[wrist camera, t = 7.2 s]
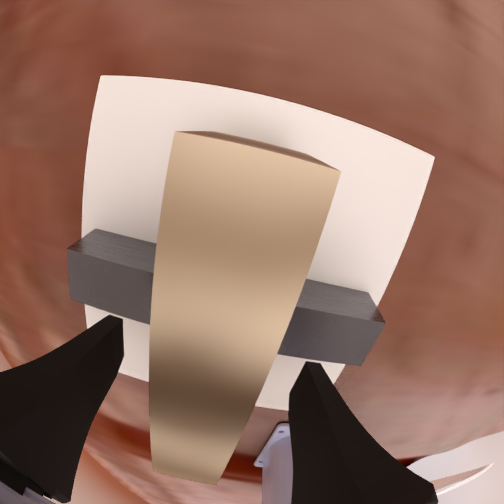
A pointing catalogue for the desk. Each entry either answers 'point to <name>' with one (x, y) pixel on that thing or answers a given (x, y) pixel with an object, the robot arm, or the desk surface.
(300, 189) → the oak bar
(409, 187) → the stand
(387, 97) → the desk surface
